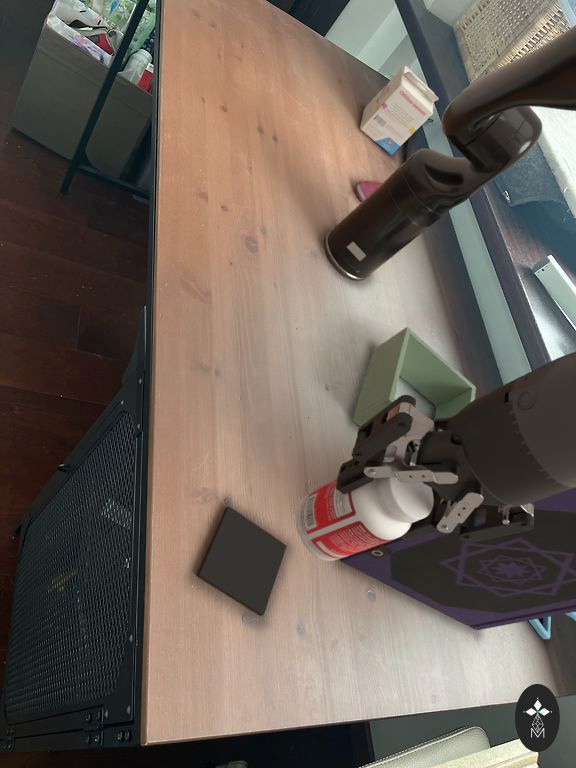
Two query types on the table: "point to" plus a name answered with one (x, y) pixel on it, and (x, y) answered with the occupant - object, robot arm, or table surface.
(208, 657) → the table surface
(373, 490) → the pill bottle
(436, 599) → the book
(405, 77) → the ink box
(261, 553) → the mat
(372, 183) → the eraser
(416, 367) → the green open box
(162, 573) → the table surface
